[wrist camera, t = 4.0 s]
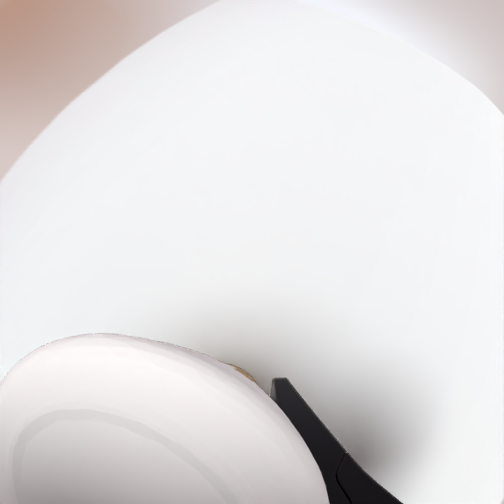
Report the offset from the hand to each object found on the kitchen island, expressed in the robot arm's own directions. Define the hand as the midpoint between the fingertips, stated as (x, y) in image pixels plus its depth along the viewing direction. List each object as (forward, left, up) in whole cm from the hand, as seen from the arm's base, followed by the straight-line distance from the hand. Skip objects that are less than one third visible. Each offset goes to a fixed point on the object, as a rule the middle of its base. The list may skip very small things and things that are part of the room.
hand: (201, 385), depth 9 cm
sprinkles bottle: (-1, 0, -7) cm, 7 cm away
